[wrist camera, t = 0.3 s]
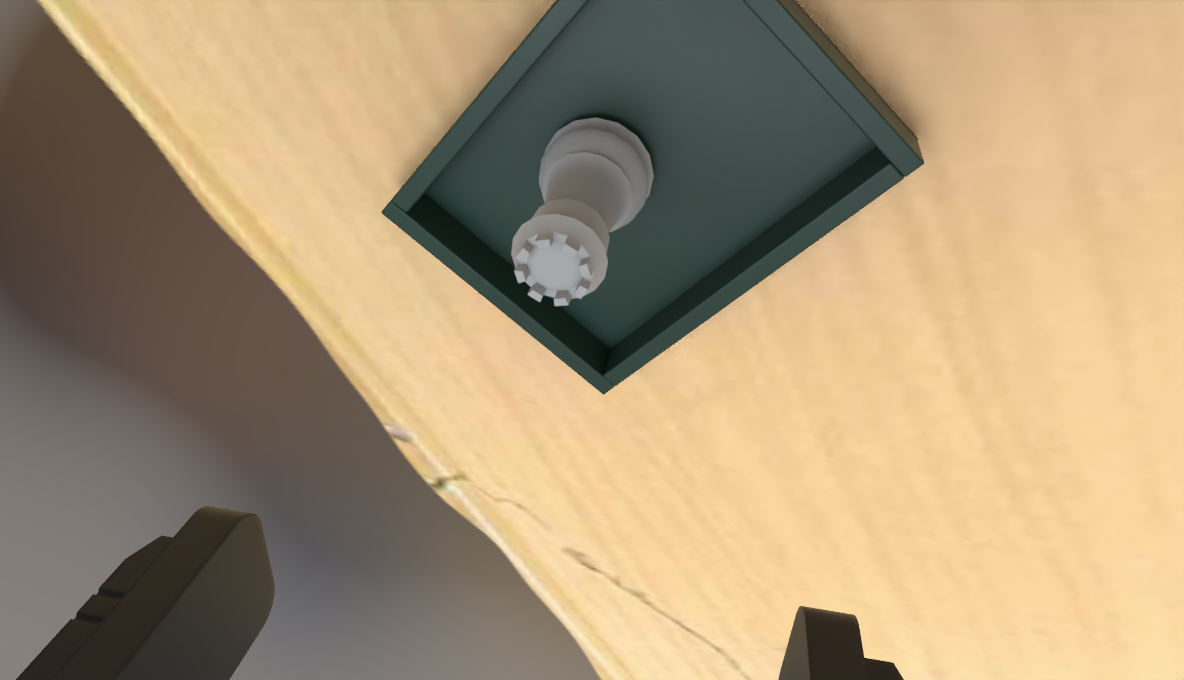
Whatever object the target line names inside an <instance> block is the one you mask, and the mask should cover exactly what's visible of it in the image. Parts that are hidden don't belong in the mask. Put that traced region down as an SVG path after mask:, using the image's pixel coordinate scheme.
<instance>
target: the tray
mask: <svg viewBox="0 0 1184 680" xmlns="http://www.w3.org/2000/svg"><path fill="white" fill-rule="evenodd" d="M589 118H600V119H604V120H608V121H612V122H617V123H619V124H621V125H622V126H624V127H625V128H626V129H628V130H629V131H631V132H632V133H634V134H635V135H636V136H638V138H639V139H640V141H641V142H642V144H643V145H644V147H645V148H646V150H647V151H648V153H649V154H650V158H651V164H652V169H653V174H654V177H653V181H652V186H651V190H650V194H649V196H648V198H647V199H646V200H645V204H644V206H643V207H642V209H641V210H640V211H639V212H638V214H637V215H636V216H635V217H634V219H633V220H632V221H631V222H630V223H628V224H626V225H624V226H622V227H621V228H619V229H617V230H615V231H613V232H609V233H608V234H609V238H610V239H609V244H608V249H607V253H606V255H607V260H608V265H607V270H606V275H605V278H604V280H603V281H602V282H601V283H600V285H599V286H598V287H597V288H596V290H595V291H593V292H591V293H589V294H587V295H585V296H583V297H582V298H581V299H579V298H573V299H571V300H570V303H569V305H564V306H554V297H550V296H546V295H543V297H542V299H541V301H540V302H538V301H537V300H535V299H534V298H532V297H530V296H529V295H527V294H528V292H529V290H530V288H531V287H530V286H529V285H528V284H527V283H526V282H522V283H518V281H517V278H516V275H515V272H514V270H515V265H514V262H513V258H512V255H511V251H512V243H513V237H514V236H515V234H516V233H517V231H518V230H519V228H520V227H521V225H522V224H524V223H526V222H527V221H529V220H531V219H532V217H533V216H534V214H535V213H536V211H537V210H538V208H539V207H541V206H542V205H544V204H545V202H544V199H543V196H542V192H541V189H540V185H539V173H540V166H541V159H542V157H543V156H544V154H545V149H546V147H547V146H548V144H549V143H550V141H551V139H552V138H553V136H554V135H555V133H556V132H557V131H559V130H560V129H562V128H563V127H565V126H567V125H568V124H570V123H571V122H573V121H576V120H583V119H589ZM917 140H918V139H917V137H916V136H915V135H914V134H913V133H912V132H911V130H910V129H909V128H908V127H907V126H906V125H905V124H904V123H903V121H902V120H901V119H900V118H899V117H898V116H897V115H896V114H895V112H894V111H893V110H892V109H891V108H890V107H889V106H888V105H887V103H886V102H885V101H884V100H883V99H882V98H881V97H880V96H879V94H878V93H877V92H876V91H875V90H874V89H873V88H872V87H871V85H870V84H869V83H868V82H867V81H866V80H865V79H864V78H863V76H862V75H861V74H860V73H859V72H858V71H857V70H856V69H855V67H854V66H853V65H852V64H851V63H850V62H849V61H848V60H847V58H846V57H845V56H844V55H843V54H842V53H841V52H840V51H839V49H838V48H837V47H836V46H835V45H834V44H833V43H832V42H831V41H830V39H829V38H828V37H827V36H826V35H825V34H824V33H823V32H822V30H821V29H820V28H819V27H818V26H817V25H816V24H815V23H814V21H813V20H812V19H811V18H810V17H809V16H808V15H807V14H806V12H805V11H804V10H803V9H802V8H801V7H800V6H799V5H798V3H797V2H796V1H795V0H556V1H555V3H554V4H553V5H552V6H551V8H550V9H549V10H548V11H547V12H546V14H545V15H544V16H543V17H542V18H541V20H540V21H539V22H538V23H537V24H536V26H535V27H534V28H533V29H532V30H531V32H530V33H529V34H528V35H527V37H526V38H525V39H524V40H523V41H522V43H521V44H520V45H519V46H518V47H517V49H516V50H515V51H514V52H513V53H512V55H511V56H510V57H509V58H508V59H507V61H506V62H505V63H504V64H503V66H502V67H501V68H500V69H499V70H498V72H497V73H496V74H495V75H494V76H493V78H492V79H491V80H490V81H489V82H488V84H487V85H486V86H485V87H484V88H483V90H482V91H481V92H480V93H479V95H478V96H477V97H476V98H475V99H474V101H473V102H472V103H471V104H470V105H469V107H468V108H467V109H466V110H465V111H464V113H463V114H462V115H461V116H460V117H459V119H458V120H457V121H456V122H455V124H454V125H453V126H452V127H451V128H450V130H449V131H448V132H447V133H446V134H445V136H444V137H443V138H442V139H441V140H440V142H439V143H438V144H437V145H436V147H435V148H434V149H433V150H432V151H431V153H430V154H429V155H428V156H427V157H426V159H425V160H424V161H423V162H422V163H421V165H420V166H419V167H418V168H417V169H416V171H415V172H414V173H413V174H412V176H411V177H410V178H409V179H408V180H407V182H406V183H405V184H404V185H403V186H402V188H401V189H400V190H399V191H398V192H397V194H396V195H395V196H394V197H393V198H392V200H391V201H390V202H389V203H388V204H387V206H386V207H385V208H384V209H383V211H382V214H383V215H385V216H386V217H387V218H388V219H390V220H391V221H392V222H393V223H394V224H396V225H397V226H398V227H399V228H401V229H402V230H403V231H404V232H405V233H407V234H408V235H409V236H410V237H412V238H413V239H414V240H415V241H416V242H418V243H419V244H420V245H421V246H423V247H424V248H425V249H426V250H427V251H429V252H430V253H431V254H432V255H434V256H435V257H436V258H437V259H438V260H440V261H441V262H442V263H443V264H445V265H446V266H447V267H448V268H449V269H451V270H452V271H453V272H454V273H456V274H457V275H458V276H459V277H460V278H462V279H463V280H464V281H465V282H467V283H468V284H469V285H470V286H471V287H473V288H474V289H475V290H476V291H478V292H479V293H480V294H481V295H482V296H484V297H485V298H486V299H487V300H489V301H490V302H491V303H492V304H493V305H495V306H496V307H497V308H498V309H500V310H501V311H502V312H503V313H504V314H506V315H507V316H508V317H509V318H511V319H512V320H513V321H514V322H515V323H517V324H518V325H519V326H520V327H522V328H523V329H524V330H525V331H526V332H528V333H529V334H530V335H531V336H533V337H534V338H535V339H536V340H537V341H539V342H540V343H541V344H542V345H544V346H545V347H546V348H547V349H548V350H550V351H551V352H552V353H553V354H555V355H556V356H557V357H558V358H560V359H561V360H562V361H563V362H564V363H566V364H567V365H568V366H569V367H571V368H572V369H573V370H574V371H575V372H577V373H578V374H579V375H580V376H582V377H583V378H584V379H585V380H586V381H588V382H589V383H590V384H591V385H593V386H594V387H595V388H596V389H597V390H599V391H600V392H601V393H602V394H605V393H606V392H608V391H609V390H610V389H612V388H613V387H614V386H616V385H618V384H619V383H620V382H622V381H623V380H624V379H626V378H627V377H629V376H630V375H631V374H633V373H634V372H636V371H637V370H638V369H640V368H641V367H643V366H644V365H645V364H647V363H648V362H649V361H651V360H652V359H654V358H655V357H656V356H658V355H659V354H661V353H662V352H663V351H665V350H666V349H668V348H669V347H670V346H672V345H673V344H674V343H676V342H677V341H679V340H680V339H681V338H683V337H684V336H686V335H687V334H688V333H690V332H691V331H693V330H694V329H695V328H697V327H698V326H699V325H701V324H702V323H704V322H705V321H706V320H708V319H709V318H711V317H712V316H713V315H715V314H716V313H718V312H719V311H720V310H722V309H723V308H724V307H726V306H727V305H729V304H730V303H731V302H733V301H734V300H736V299H737V298H738V297H740V296H741V295H743V294H744V293H745V292H747V291H748V290H749V289H751V288H752V287H754V286H755V285H756V284H758V283H759V282H761V281H762V280H763V279H765V278H766V277H768V276H769V275H770V274H772V273H773V272H774V271H776V270H777V269H779V268H780V267H781V266H783V265H784V264H786V263H787V262H788V261H790V260H791V259H793V258H794V257H795V256H797V255H798V254H799V253H801V252H802V251H804V250H805V249H806V248H808V247H809V246H811V245H812V244H813V243H815V242H816V241H818V240H819V239H820V238H822V237H823V236H824V235H826V234H827V233H829V232H830V231H831V230H833V229H834V228H836V227H837V226H838V225H840V224H841V223H843V222H844V221H845V220H847V219H848V218H849V217H851V216H852V215H854V214H855V213H856V212H858V211H859V210H861V209H862V208H863V207H865V206H866V205H868V204H869V203H870V202H872V201H873V200H874V199H876V198H877V197H879V196H880V195H881V194H883V193H884V192H886V191H887V190H888V189H890V188H891V187H893V186H894V185H895V184H897V183H898V182H900V181H901V180H902V179H903V178H904V176H905V177H906V176H908V175H909V174H910V173H912V172H913V171H914V170H916V169H917V168H919V167H920V166H921V165H923V164H924V160H923V157H922V154H921V151H920V148H919V144H918V141H917Z"/></svg>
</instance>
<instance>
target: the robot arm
mask: <svg viewBox="0 0 1184 680" xmlns="http://www.w3.org/2000/svg"><path fill="white" fill-rule="evenodd" d="M273 599H274V580H273V575H272V570H271V566H270V561H269V556H268V552H267V547H266V543H265V538H264V534H263V529H262V524H261V521H260V519H259V517H258V516H257V515H255V514H252V513H246V512H239V511H234V510H228V509H222V508H215V507H209V506H206V507H203V508H201V509H199V510H198V511H197V512H195V513H194V514H193V515H192V517H191V518H190V519H189V520H188V521H187V522H186V523H185V525H184V526H183V527H182V528H181V529H180V530H179V532H178V533H177V534H176V535H175V536H174V537H173V538H172V537H166V536H161V537H159V538H157V539H156V540H154V541H153V542H151V543H149V544H148V545H146V546H145V547H143V548H142V549H140V550H139V551H137V552H136V553H134V554H132V555H131V556H129V557H128V558H127V559H125V560H124V561H123V562H122V563H121V564H120V566H119V567H118V568H117V569H116V570H115V571H114V572H113V573H112V574H111V576H110V577H109V578H108V579H107V580H106V581H105V582H104V583H103V584H102V585H101V586H100V588H99V592H98V593H97V595H92V596H91V597H90V599H89V600H88V601H87V602H86V603H85V604H84V605H83V606H82V607H81V608H80V610H79V611H78V612H77V615H76V618H75V619H74V620H72V619H70V621H69V622H68V623H67V624H66V625H65V626H64V627H63V628H62V629H61V630H60V632H59V633H58V634H57V635H56V636H55V637H54V638H53V639H52V640H51V642H50V643H49V644H48V645H47V646H46V647H45V648H44V649H43V650H42V652H41V653H40V654H39V655H38V656H37V657H36V658H35V659H34V660H33V661H32V662H31V663H30V665H29V666H28V667H27V668H26V669H25V670H24V671H23V672H22V674H20V676H19V677H18V678H17V679H16V680H229V679H230V678H231V676H232V674H233V673H234V671H235V670H236V668H237V667H238V665H239V664H240V662H241V661H242V659H243V657H244V656H245V654H246V653H247V651H248V650H249V648H250V646H251V645H252V643H253V642H254V640H255V639H256V637H257V635H258V634H259V632H260V631H261V629H262V628H263V626H264V624H265V622H266V620H267V618H268V616H269V613H270V611H271V607H272V604H273ZM779 680H904V679H903V678H902V676H901V674H900V673H899V671H898V670H897V668H896V667H895V665H894V663H891V662H886V661H880V660H874V659H868V658H864V654H863V648H862V642H861V635H860V629H859V624H858V621H857V618H856V617H855V615H852V614H846V613H840V612H834V611H828V610H822V609H815V608H809V607H803V606H800V607H799V608H798V611H797V613H796V617H795V620H794V624H793V628H792V631H791V635H790V638H789V642H788V646H787V649H786V653H785V656H784V660H783V664H782V667H781V671H780V675H779Z"/></svg>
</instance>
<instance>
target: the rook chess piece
mask: <svg viewBox="0 0 1184 680" xmlns="http://www.w3.org/2000/svg"><path fill="white" fill-rule="evenodd" d="M653 177H654V174H653V169H652V164H651V158H650V154H649V153H648V151H647V150H646V148H645V147H644V145H643V144H642V142H641V141H640V139H639V138H638V136H636V135H635V134H634V133H632V132H631V131H629V130H628V129H626V128H625V127H624V126H622V125H621V124H619V123H617V122H612V121H608V120H604V119H600V118H589V119H583V120H576V121H573V122H571V123H570V124H568V125H567V126H565V127H563V128H562V129H560V130H559V131H557V132H556V133H555V135H554V136H553V138H552V139H551V141H550V143H549V144H548V146H547V147H546V149H545V154H544V156H543V157H542V159H541V166H540V173H539V185H540V189H541V192H542V196H543V199H544V202H545V204H544V205H542V206H541V207H539V208H538V210H537V211H536V213H535V214H534V216H533V217H532V219H531V220H529V221H527V222H526V223H524V224H522V225H521V227H520V228H519V230H518V231H517V233H516V234H515V236H514V237H513V243H512V251H511V255H512V258H513V262H514V265H515V270H514V272H515V275H516V278H517V281H518V283H522V282H526V283H527V284H528V285H529V286H530V287H531V288H530V290H529V292H528V294H527V295H529V296H530V297H532V298H534V299H535V300H537V301H538V302H540V301H541V299H542V297H543V295H546V296H550V297H554V306H564V305H569V303H570V300H571V299H573V298H579V299H581V298H582V297H583V296H585V295H587V294H589V293H591V292H593V291H595V290H596V288H597V287H598V286H599V285H600V283H601V282H602V281H603V280H604V278H605V275H606V270H607V265H608V260H607V255H606V253H607V249H608V244H609V239H610V238H609V234H608V233H609V232H613V231H615V230H617V229H619V228H621V227H622V226H624V225H626V224H628V223H630V222H631V221H632V220H633V219H634V217H635V216H636V215H637V214H638V212H639V211H640V210H641V209H642V207H643V206H644V204H645V200H646V199H647V198H648V196H649V194H650V190H651V186H652V181H653Z"/></svg>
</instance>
